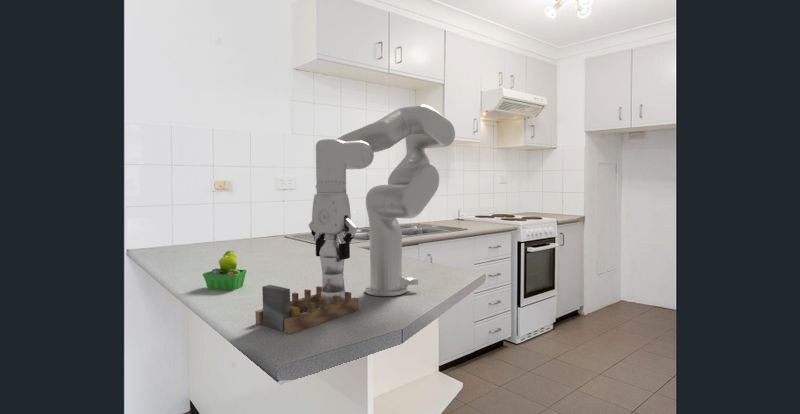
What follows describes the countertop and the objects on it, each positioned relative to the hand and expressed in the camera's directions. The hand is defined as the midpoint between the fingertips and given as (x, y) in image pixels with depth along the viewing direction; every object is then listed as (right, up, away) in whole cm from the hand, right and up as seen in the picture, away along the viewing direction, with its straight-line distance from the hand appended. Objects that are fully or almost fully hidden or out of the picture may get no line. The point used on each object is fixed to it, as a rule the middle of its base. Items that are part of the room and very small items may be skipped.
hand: (332, 256), depth 112 cm
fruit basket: (-37, -13, +25) cm, 47 cm away
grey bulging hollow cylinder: (0, -14, +1) cm, 14 cm away
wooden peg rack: (-5, -14, -6) cm, 16 cm away
